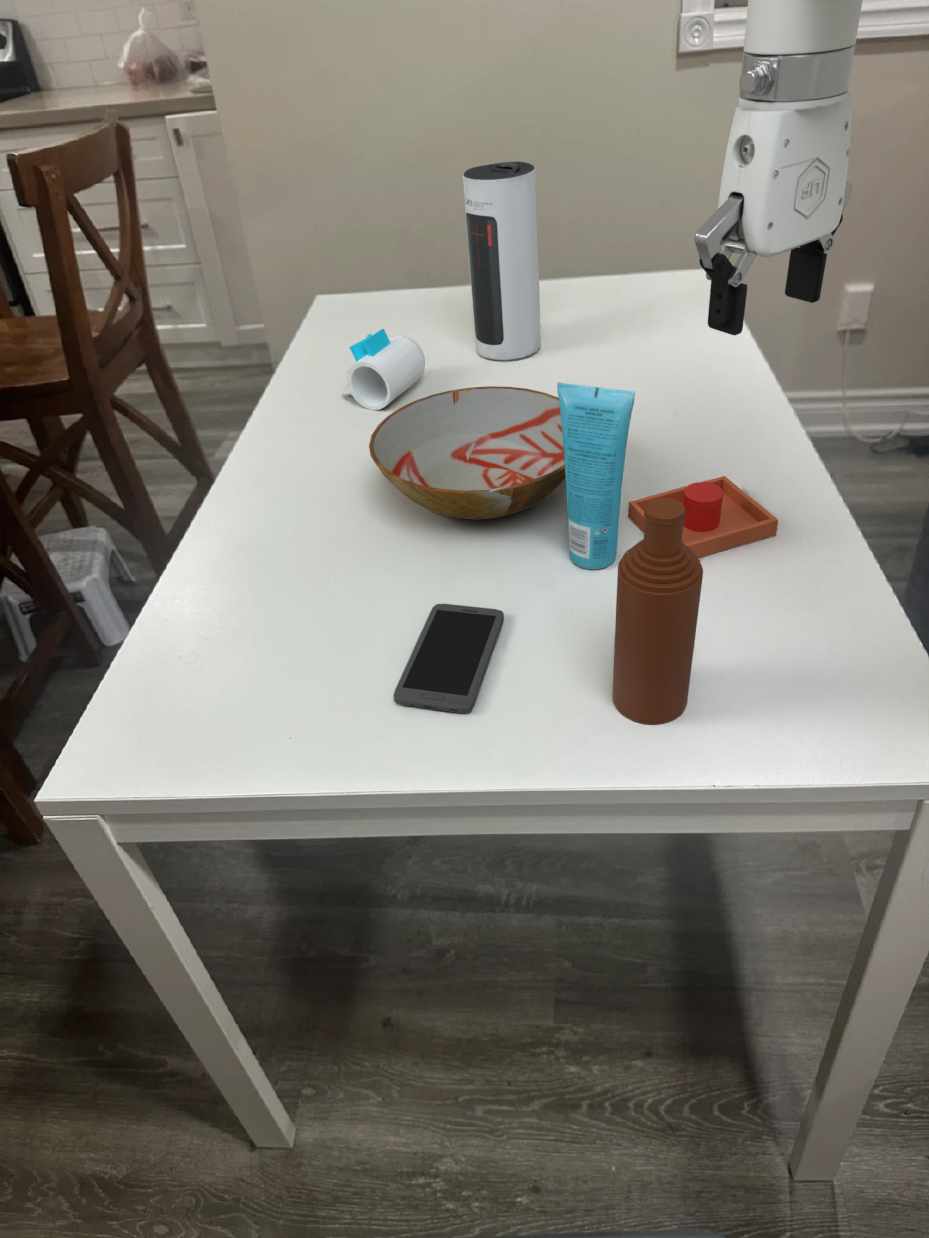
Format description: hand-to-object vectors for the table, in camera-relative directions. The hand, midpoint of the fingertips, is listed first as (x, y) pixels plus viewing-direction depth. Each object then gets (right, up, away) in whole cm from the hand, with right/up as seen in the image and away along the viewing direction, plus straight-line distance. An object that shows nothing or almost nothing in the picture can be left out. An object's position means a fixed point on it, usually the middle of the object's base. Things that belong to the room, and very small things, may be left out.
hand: (763, 314), depth 73 cm
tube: (-12, -19, +19) cm, 29 cm away
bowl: (-23, -11, +30) cm, 40 cm away
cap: (0, -15, +21) cm, 26 cm away
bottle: (-9, -33, +2) cm, 34 cm away
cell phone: (-27, -30, +8) cm, 40 cm away
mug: (-37, +8, +55) cm, 67 cm away
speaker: (-18, +17, +63) cm, 68 cm away
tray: (0, -16, +22) cm, 27 cm away
